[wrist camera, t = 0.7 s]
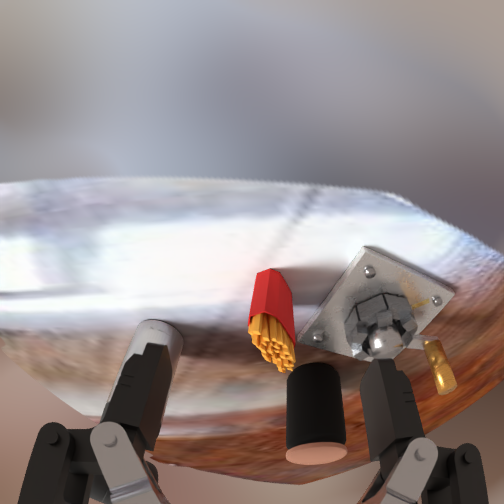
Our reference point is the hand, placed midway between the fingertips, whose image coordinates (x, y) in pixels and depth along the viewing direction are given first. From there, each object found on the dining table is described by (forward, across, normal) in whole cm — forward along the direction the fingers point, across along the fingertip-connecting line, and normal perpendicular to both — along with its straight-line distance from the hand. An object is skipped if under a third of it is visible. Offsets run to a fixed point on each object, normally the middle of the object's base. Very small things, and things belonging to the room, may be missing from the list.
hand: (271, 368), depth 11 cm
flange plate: (+29, +20, -24) cm, 42 cm away
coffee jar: (+30, +12, -42) cm, 53 cm away
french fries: (+29, +2, -20) cm, 35 cm away
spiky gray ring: (+27, +23, -24) cm, 43 cm away
